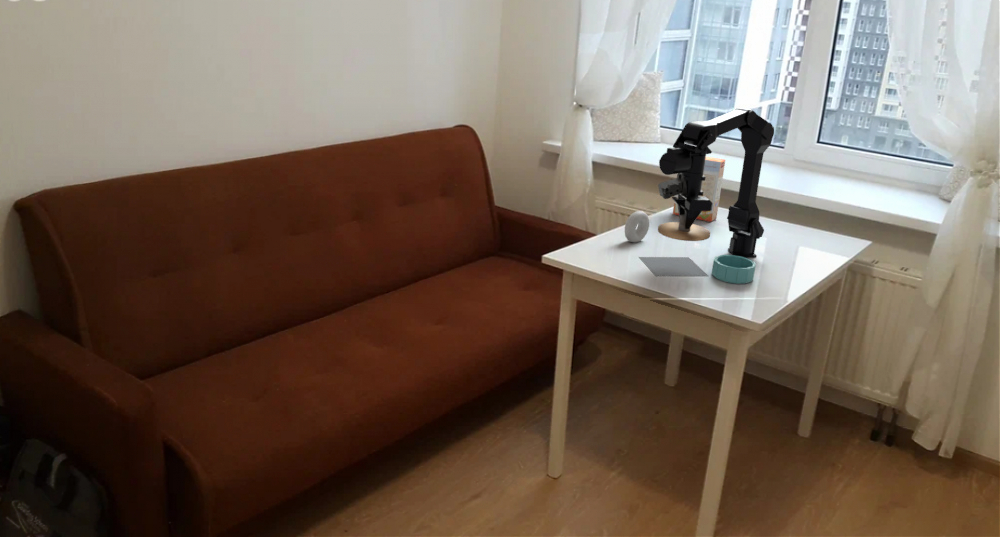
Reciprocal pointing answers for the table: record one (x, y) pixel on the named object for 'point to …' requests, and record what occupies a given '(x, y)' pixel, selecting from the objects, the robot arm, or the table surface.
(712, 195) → the cracker box
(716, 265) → the bowl
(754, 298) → the table surface
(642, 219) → the donut
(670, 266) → the mat
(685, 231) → the lid
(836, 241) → the table surface
